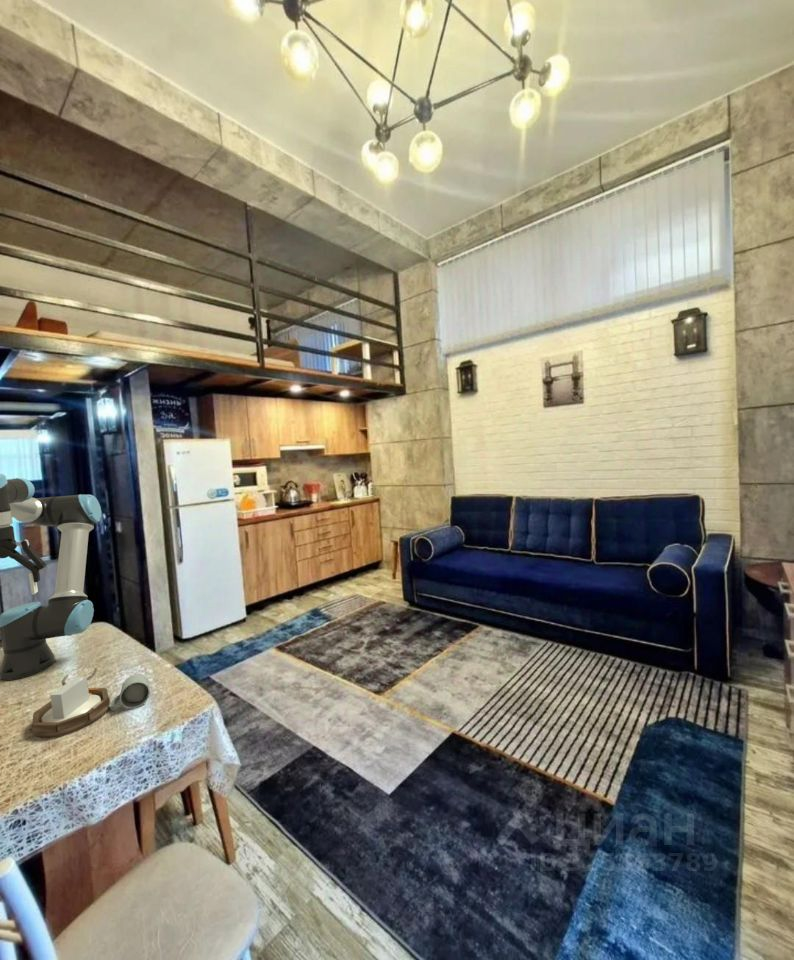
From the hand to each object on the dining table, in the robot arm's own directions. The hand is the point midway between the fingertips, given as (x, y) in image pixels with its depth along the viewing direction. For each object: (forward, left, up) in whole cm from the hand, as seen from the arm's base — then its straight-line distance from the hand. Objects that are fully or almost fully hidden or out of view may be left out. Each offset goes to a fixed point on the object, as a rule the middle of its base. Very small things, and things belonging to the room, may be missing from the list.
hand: (6, 597), depth 126 cm
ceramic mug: (+22, +26, -35) cm, 49 cm away
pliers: (-5, +14, -35) cm, 38 cm away
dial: (+17, +12, -33) cm, 39 cm away
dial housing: (+17, +12, -35) cm, 40 cm away
